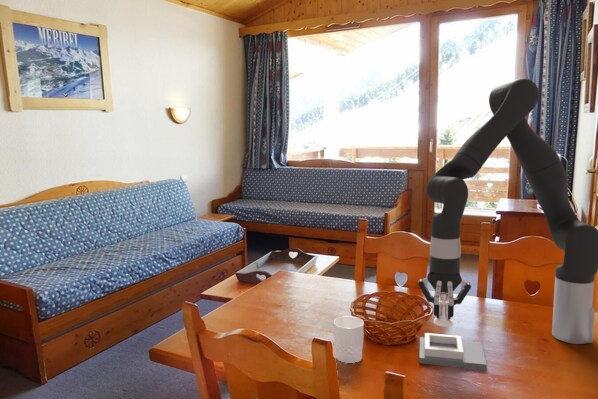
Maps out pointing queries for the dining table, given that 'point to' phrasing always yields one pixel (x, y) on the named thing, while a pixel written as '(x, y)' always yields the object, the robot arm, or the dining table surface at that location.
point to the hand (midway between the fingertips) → (443, 317)
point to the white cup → (348, 338)
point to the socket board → (451, 352)
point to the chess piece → (443, 313)
